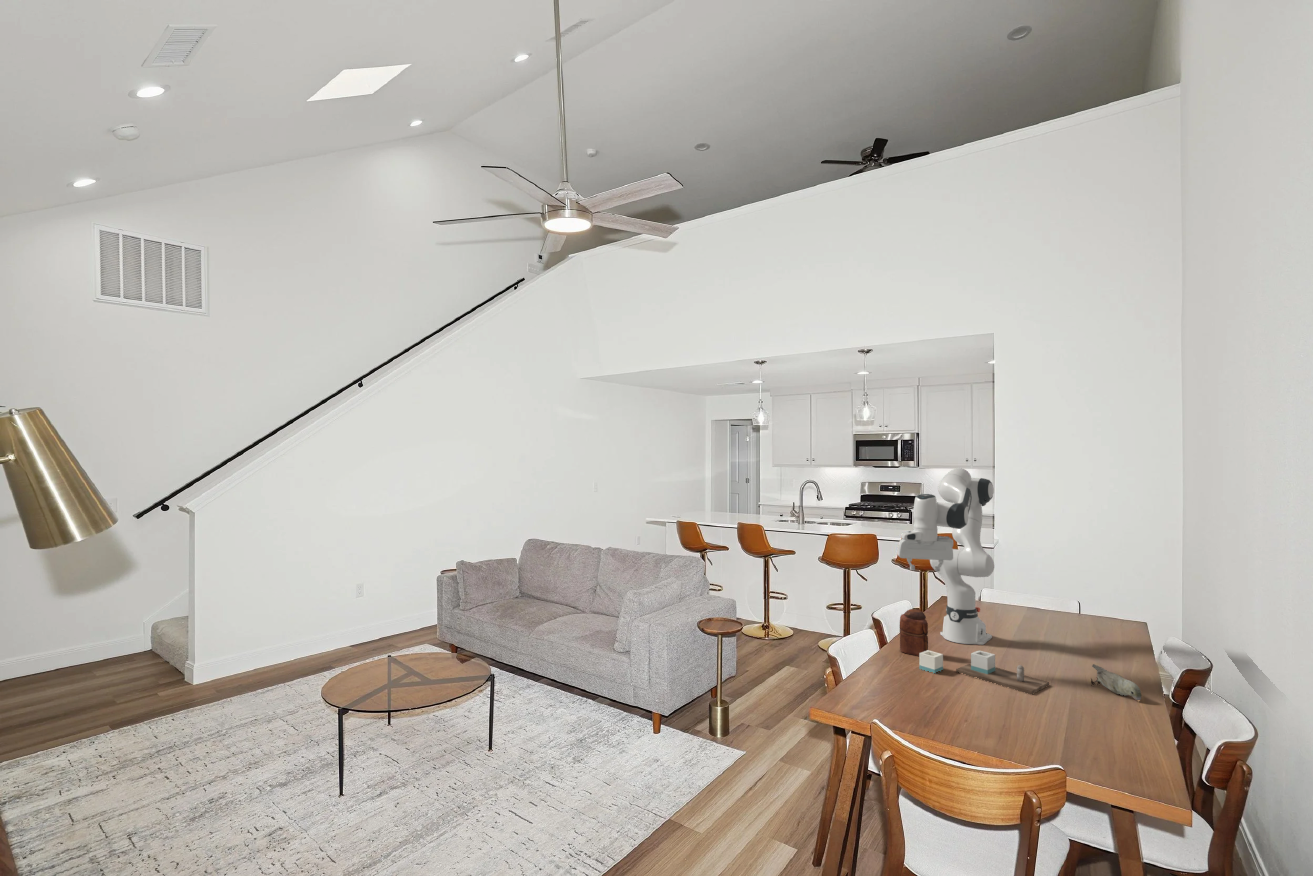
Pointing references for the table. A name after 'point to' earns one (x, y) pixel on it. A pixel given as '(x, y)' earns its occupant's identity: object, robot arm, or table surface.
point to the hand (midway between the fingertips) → (924, 570)
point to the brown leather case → (913, 632)
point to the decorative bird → (1116, 683)
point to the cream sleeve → (930, 661)
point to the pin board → (1008, 678)
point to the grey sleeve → (983, 662)
